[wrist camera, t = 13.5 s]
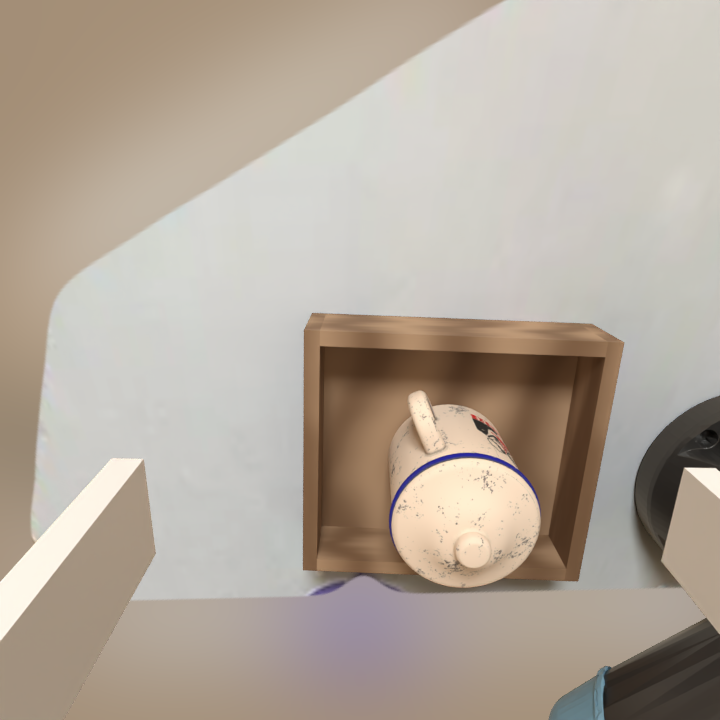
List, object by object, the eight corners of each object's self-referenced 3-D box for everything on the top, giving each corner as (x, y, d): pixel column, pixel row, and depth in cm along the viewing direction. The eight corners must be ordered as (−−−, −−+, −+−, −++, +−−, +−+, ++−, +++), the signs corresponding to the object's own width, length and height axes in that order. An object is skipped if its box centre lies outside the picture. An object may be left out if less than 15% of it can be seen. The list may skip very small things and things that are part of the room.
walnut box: (591, 323, 37) (624, 342, 33) (554, 538, 43) (578, 581, 38) (312, 313, 38) (304, 330, 33) (310, 528, 43) (303, 570, 38)
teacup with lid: (521, 483, 40) (579, 593, 29) (410, 522, 41) (426, 642, 30) (468, 345, 37) (511, 409, 26) (350, 391, 38) (343, 472, 27)
